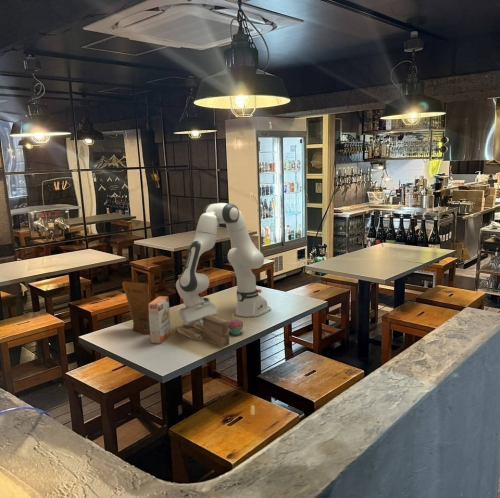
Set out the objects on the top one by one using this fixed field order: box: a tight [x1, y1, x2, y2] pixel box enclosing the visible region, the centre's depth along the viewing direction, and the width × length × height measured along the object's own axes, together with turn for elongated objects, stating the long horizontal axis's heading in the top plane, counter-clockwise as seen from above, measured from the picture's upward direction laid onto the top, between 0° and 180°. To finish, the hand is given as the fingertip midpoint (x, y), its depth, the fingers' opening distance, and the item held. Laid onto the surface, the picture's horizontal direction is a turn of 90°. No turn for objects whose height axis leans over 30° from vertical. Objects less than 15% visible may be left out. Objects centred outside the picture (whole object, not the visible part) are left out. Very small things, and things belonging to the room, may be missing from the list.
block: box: [202, 315, 230, 348], centre depth 228 cm, size 5×14×12 cm, turn 43°
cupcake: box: [228, 312, 244, 336], centre depth 239 cm, size 9×8×12 cm
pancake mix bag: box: [121, 281, 151, 335], centre depth 244 cm, size 7×19×28 cm, turn 52°
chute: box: [175, 322, 204, 342], centre depth 242 cm, size 12×20×2 cm, turn 43°
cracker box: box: [148, 295, 171, 345], centre depth 234 cm, size 14×6×21 cm, turn 168°
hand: (206, 326), depth 234 cm, fingers closed, pressing on block
